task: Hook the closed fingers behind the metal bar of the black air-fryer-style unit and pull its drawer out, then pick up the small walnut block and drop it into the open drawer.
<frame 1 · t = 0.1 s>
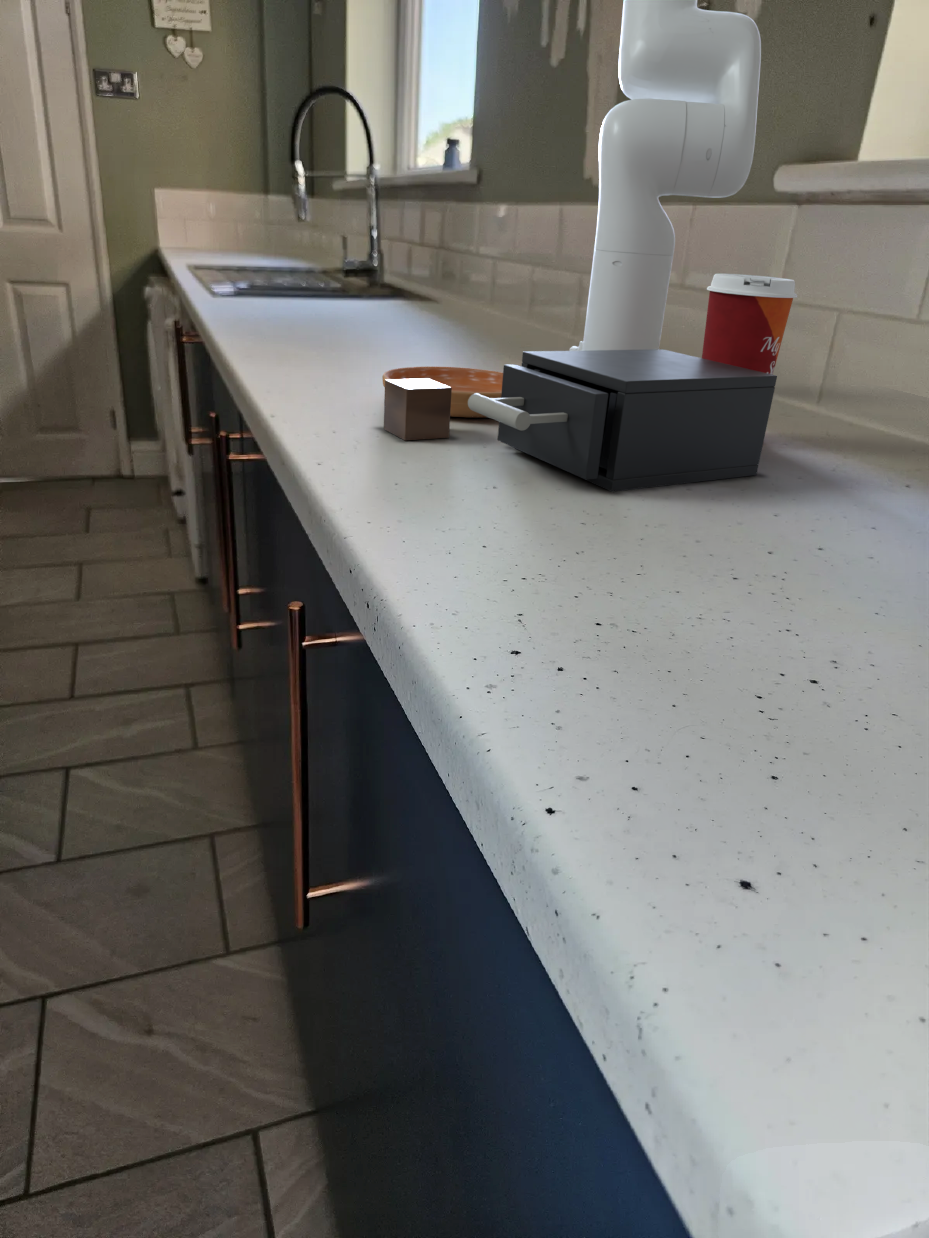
saucer: (456, 408, 92), on the counter
drawer: (590, 416, 71), point 4 cm above the counter, slide at 1.0 cm
block: (416, 433, 80), on the counter
coffee cup: (723, 438, 87), on the counter
fryer: (632, 461, 76), on the counter
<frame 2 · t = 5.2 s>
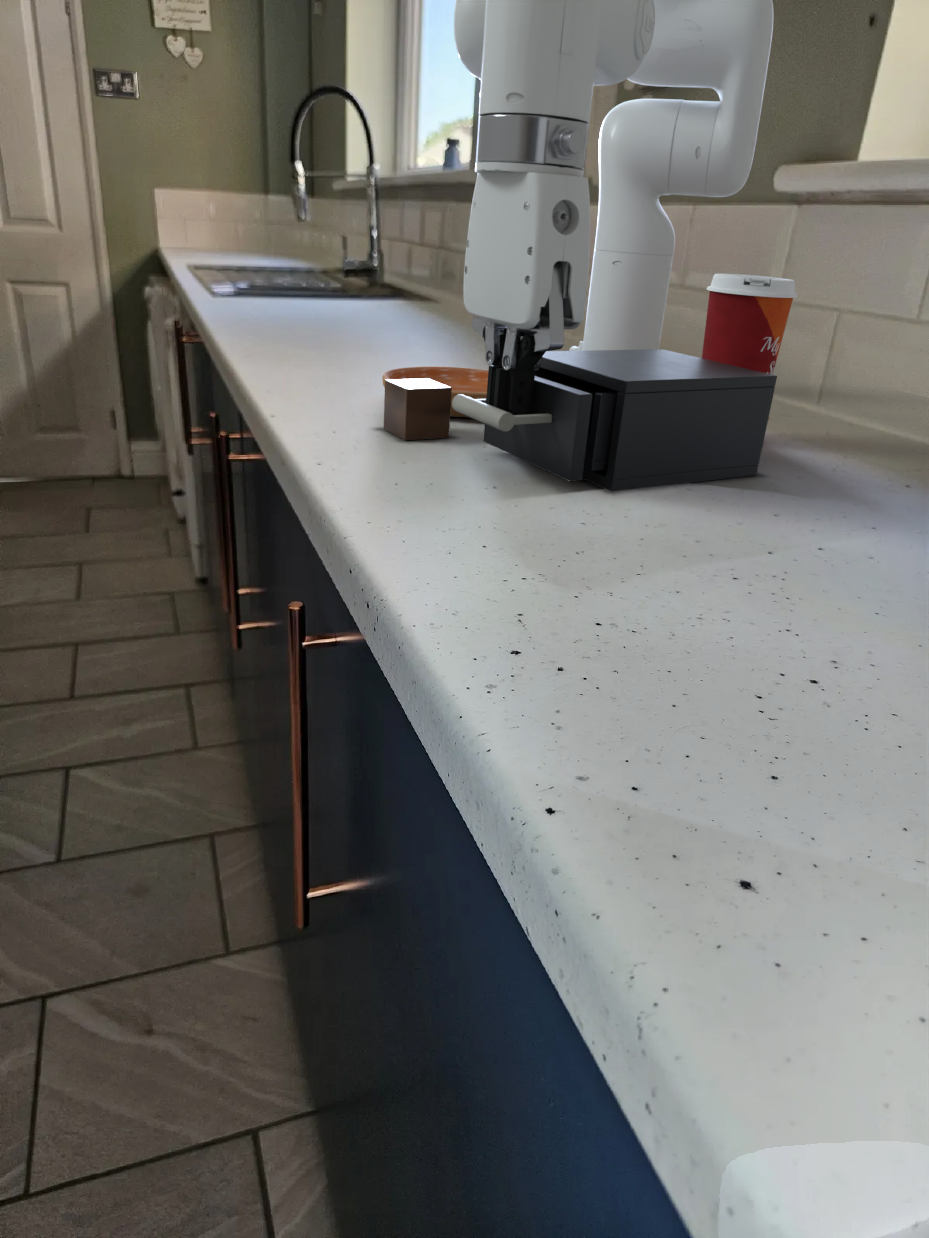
hand: (507, 419, 67), 4 cm above the counter, tool pointing down, fingers closed
drawer: (576, 417, 71), point 4 cm above the counter, slide at 2.5 cm, touching gripper
everything else where it was.
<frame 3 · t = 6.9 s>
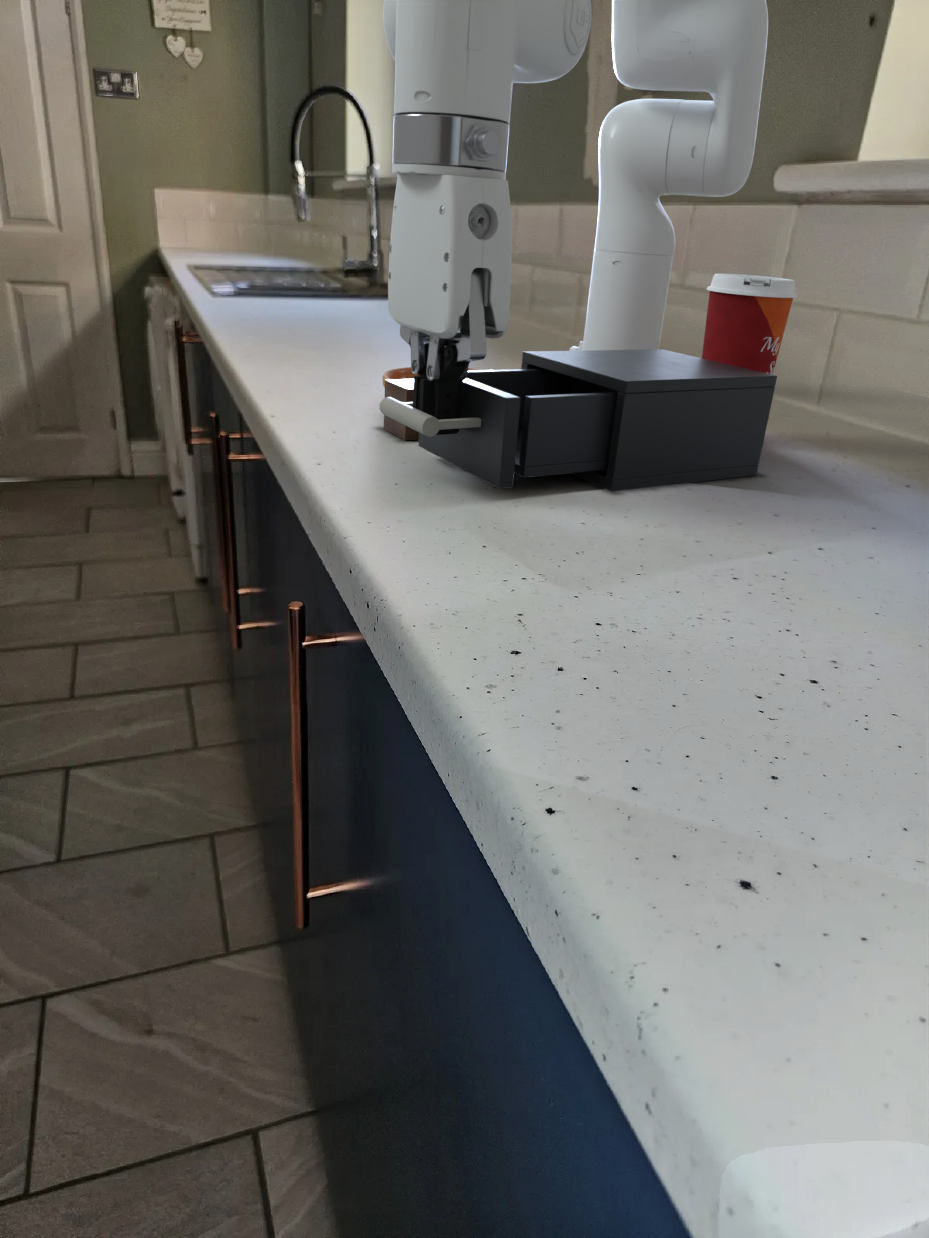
hand: (435, 431, 65), 4 cm above the counter, tool pointing down, fingers closed
drawer: (512, 421, 68), point 4 cm above the counter, slide at 8.7 cm, touching gripper
everything else where it was.
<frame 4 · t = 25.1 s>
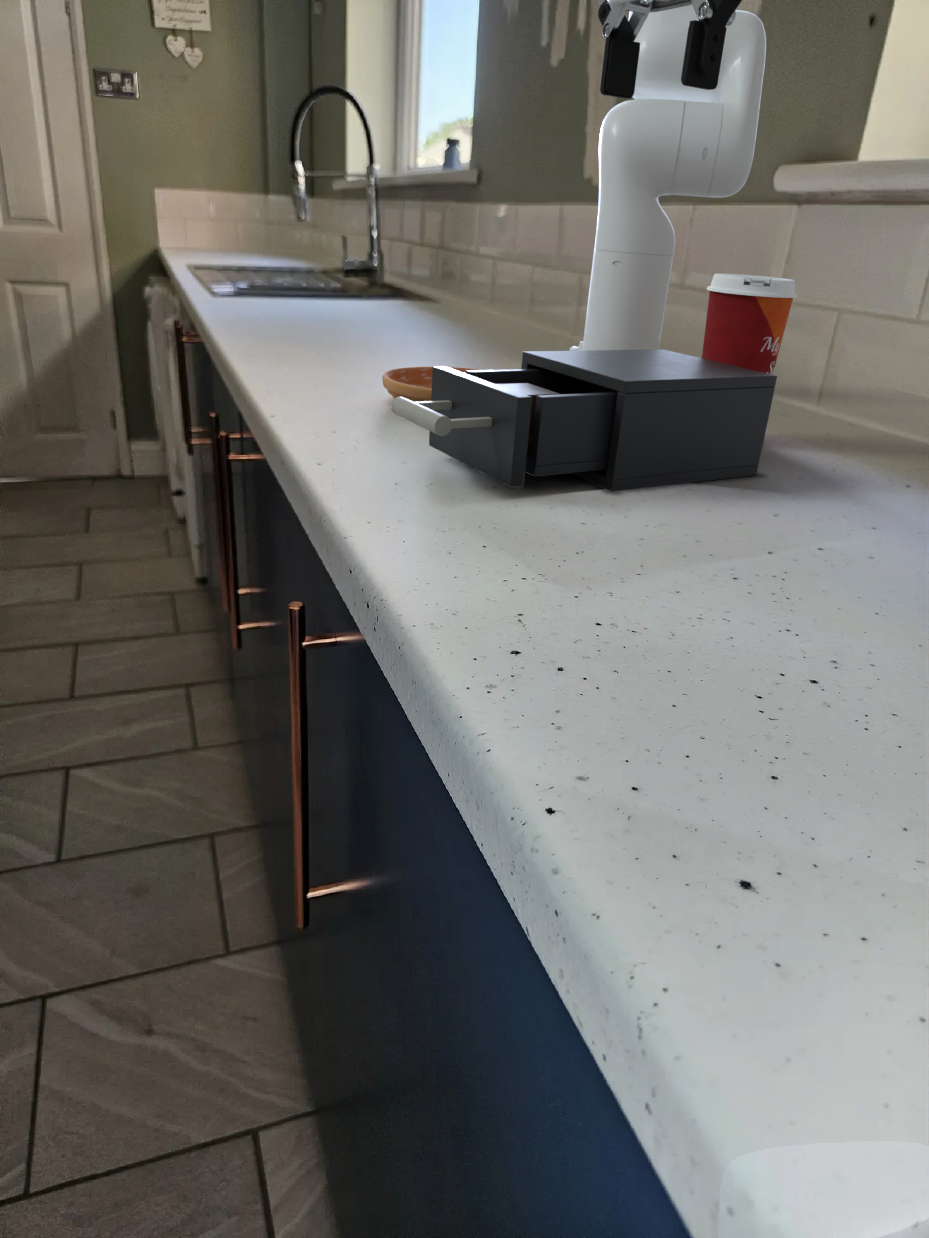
hand: (655, 92, 69), 28 cm above the counter, tool pointing down, fingers open, 9 cm apart
drawer: (522, 420, 68), point 4 cm above the counter, slide at 7.7 cm, touching block
block: (514, 446, 69), point 2 cm above the counter, touching drawer
everything else where it was.
at the end: drawer slide at 7.7 cm; block inside the target area (0.5 cm from its centre), point 2.1 cm above the counter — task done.
